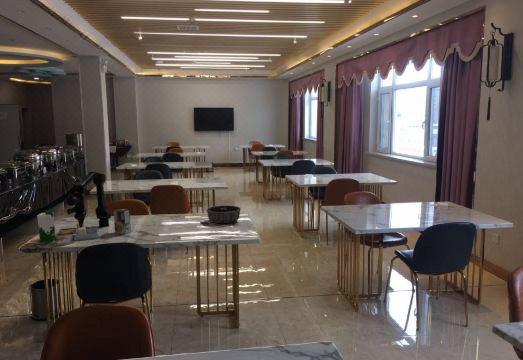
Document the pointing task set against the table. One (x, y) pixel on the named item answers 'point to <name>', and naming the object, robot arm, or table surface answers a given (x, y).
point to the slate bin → (87, 236)
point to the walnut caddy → (68, 231)
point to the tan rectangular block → (81, 231)
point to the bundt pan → (223, 214)
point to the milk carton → (46, 226)
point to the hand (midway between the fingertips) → (81, 225)
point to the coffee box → (122, 221)
